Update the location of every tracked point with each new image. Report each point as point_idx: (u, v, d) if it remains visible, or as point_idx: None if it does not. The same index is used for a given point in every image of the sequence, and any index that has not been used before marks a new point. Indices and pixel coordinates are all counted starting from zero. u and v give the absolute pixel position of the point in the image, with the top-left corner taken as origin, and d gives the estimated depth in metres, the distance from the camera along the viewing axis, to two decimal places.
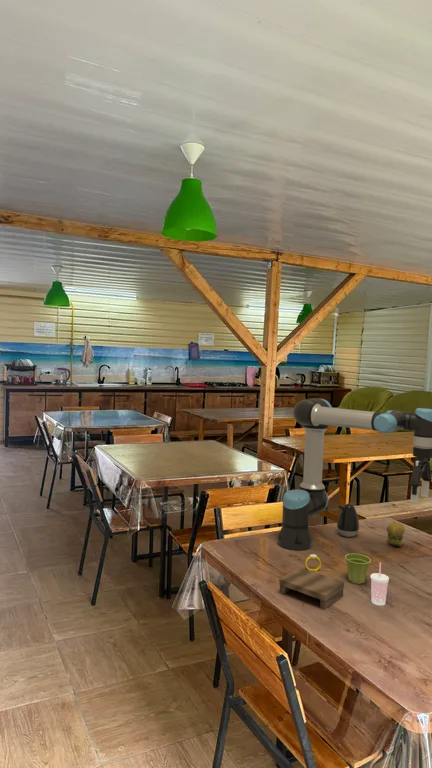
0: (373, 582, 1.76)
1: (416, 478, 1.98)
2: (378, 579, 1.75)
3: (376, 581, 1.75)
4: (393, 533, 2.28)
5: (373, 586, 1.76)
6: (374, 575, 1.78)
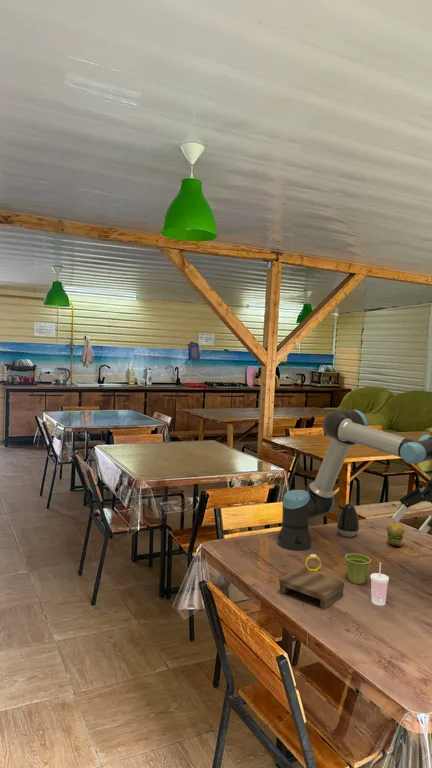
0: (373, 582, 1.76)
1: None
2: (378, 579, 1.75)
3: (376, 581, 1.75)
4: (393, 533, 2.28)
5: (373, 586, 1.76)
6: (374, 575, 1.78)
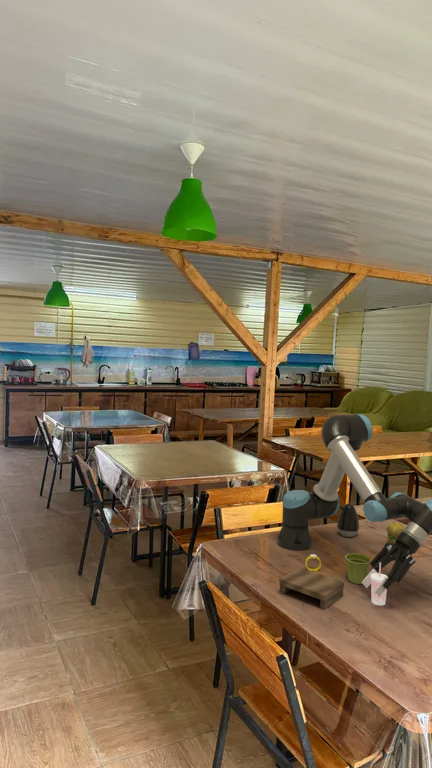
0: (373, 582, 1.76)
1: (402, 576, 1.72)
2: (378, 579, 1.75)
3: (376, 581, 1.75)
4: (393, 533, 2.28)
5: (373, 586, 1.76)
6: (374, 575, 1.78)
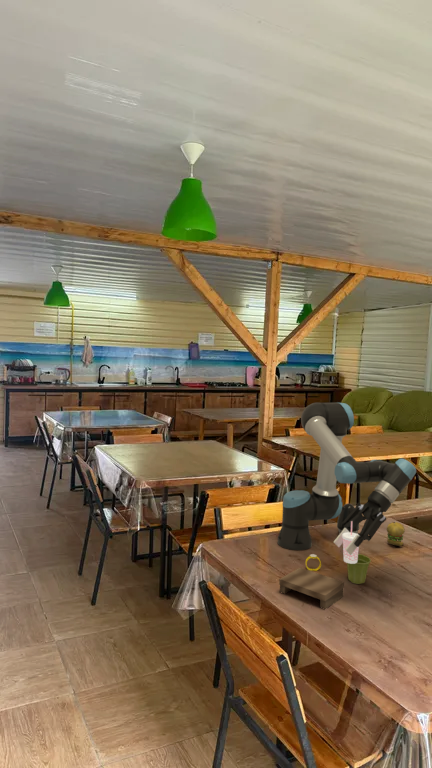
0: (345, 541, 1.75)
1: (373, 533, 1.72)
2: (349, 537, 1.75)
3: (347, 539, 1.74)
4: (393, 533, 2.28)
5: (345, 545, 1.76)
6: (346, 534, 1.78)
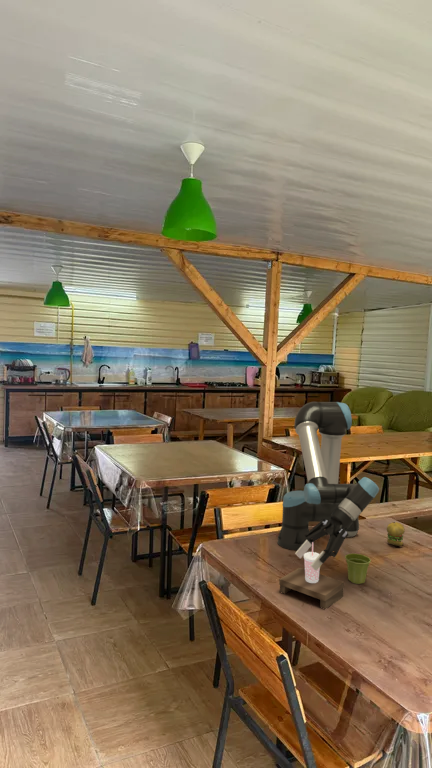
0: (306, 561, 1.79)
1: (338, 549, 1.75)
2: (310, 558, 1.78)
3: (308, 560, 1.78)
4: (393, 533, 2.28)
5: (306, 565, 1.80)
6: (307, 554, 1.82)
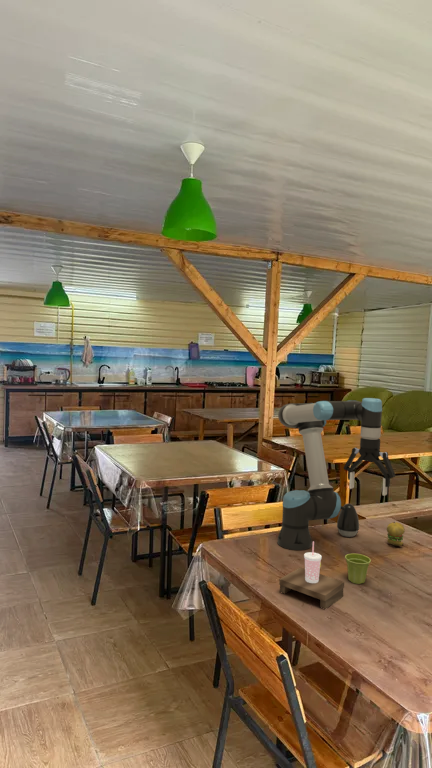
0: (306, 560, 1.80)
1: (392, 469, 1.96)
2: (311, 557, 1.79)
3: (309, 559, 1.79)
4: (393, 533, 2.28)
5: (306, 564, 1.80)
6: (308, 554, 1.82)
